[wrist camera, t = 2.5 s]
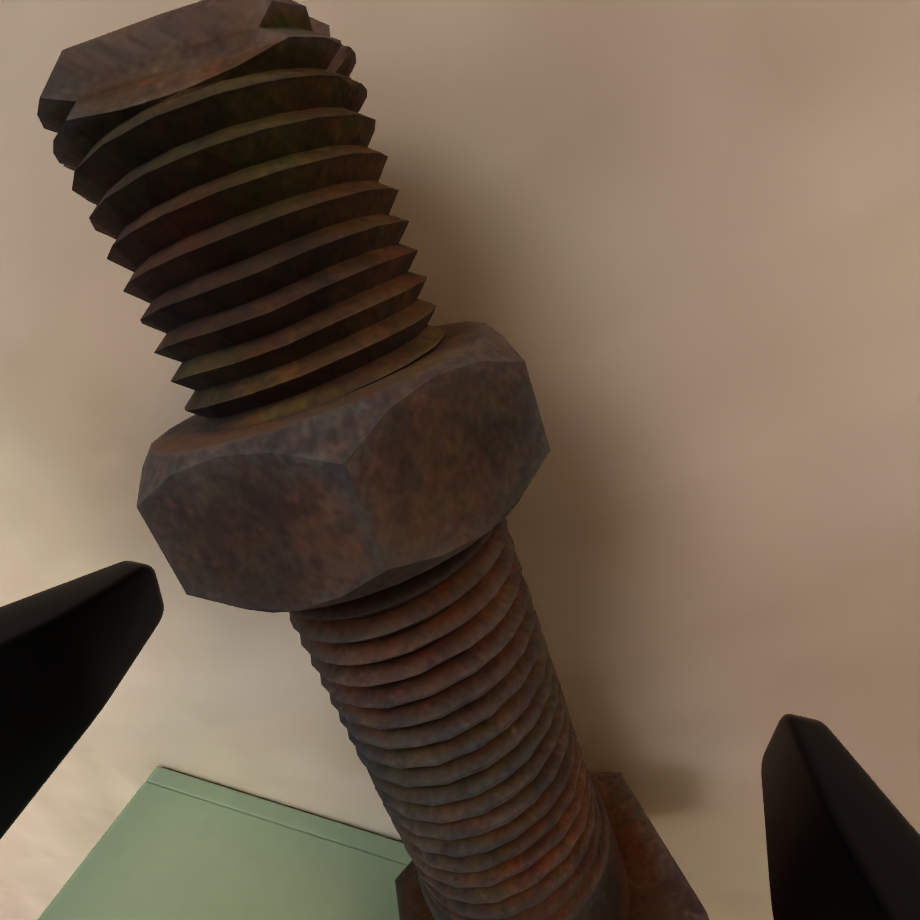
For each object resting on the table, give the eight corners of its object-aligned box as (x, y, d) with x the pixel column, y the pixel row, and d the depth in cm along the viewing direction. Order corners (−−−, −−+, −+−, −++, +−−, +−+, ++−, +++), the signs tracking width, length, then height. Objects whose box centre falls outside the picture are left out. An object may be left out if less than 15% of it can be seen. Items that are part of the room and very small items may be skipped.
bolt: (390, 80, 9) (604, 770, 14) (61, 179, 8) (409, 862, 13) (496, -246, 4) (785, 1075, 9) (-419, -28, 3) (469, 1252, 8)
